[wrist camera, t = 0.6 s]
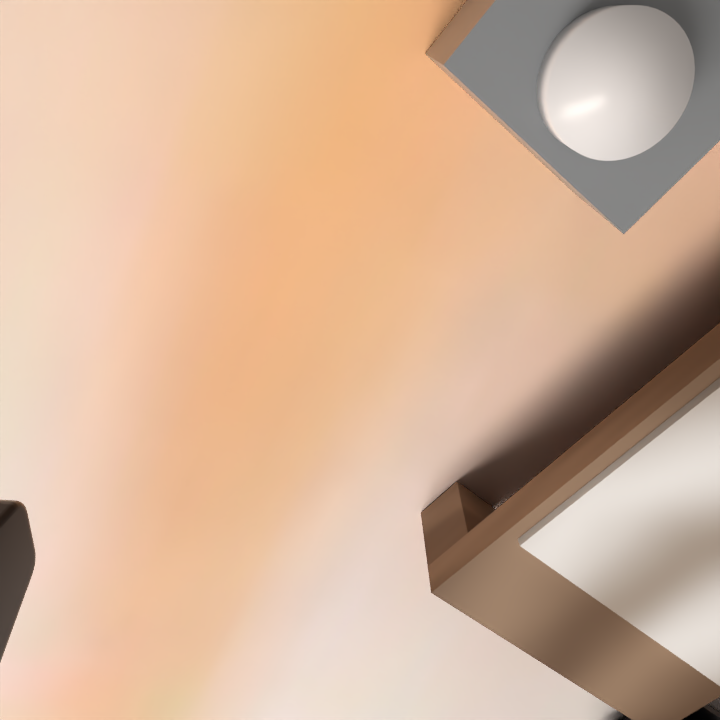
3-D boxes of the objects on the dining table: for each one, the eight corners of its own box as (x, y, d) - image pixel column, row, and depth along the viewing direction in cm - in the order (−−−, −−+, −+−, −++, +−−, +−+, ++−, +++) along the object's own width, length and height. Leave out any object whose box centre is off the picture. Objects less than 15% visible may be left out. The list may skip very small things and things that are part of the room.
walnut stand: (968, 414, 24) (1085, 490, 20) (619, 647, 29) (659, 742, 26) (777, 198, 20) (875, 242, 16) (420, 513, 26) (432, 599, 22)
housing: (798, -48, 17) (970, -70, 13) (570, 189, 20) (639, 246, 15) (651, -237, 16) (785, -349, 11) (424, 53, 18) (449, 68, 14)
